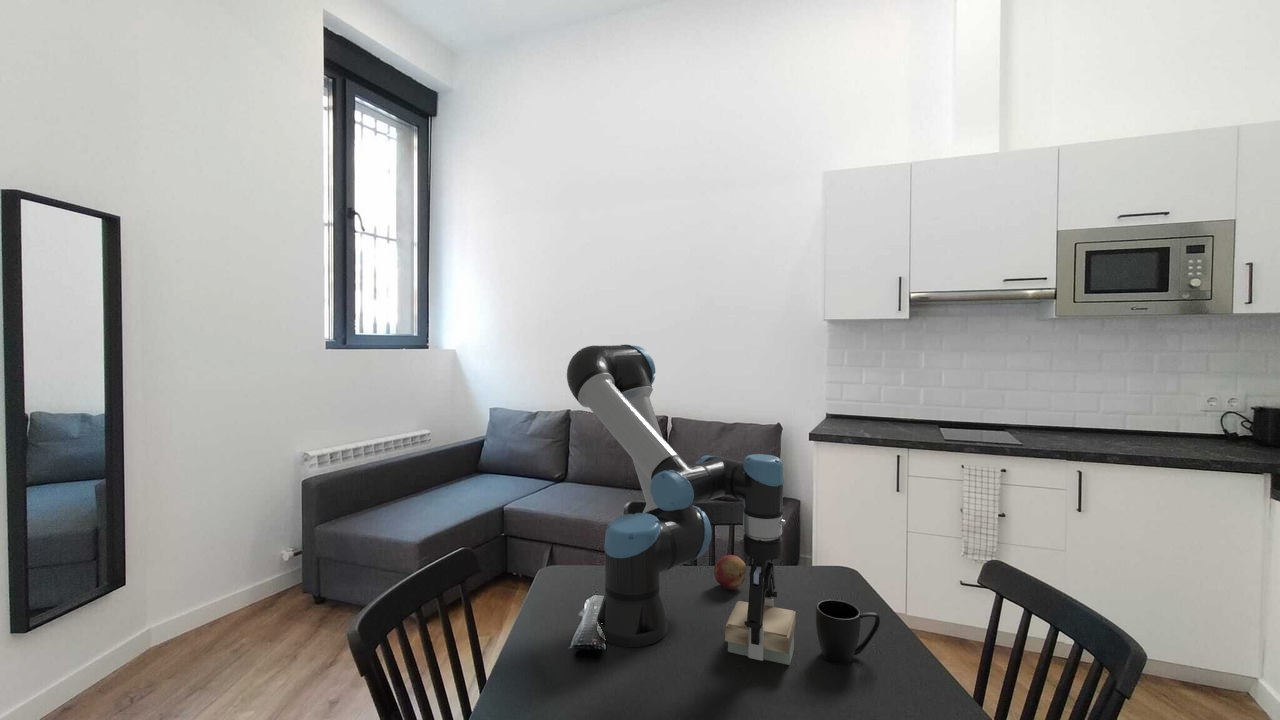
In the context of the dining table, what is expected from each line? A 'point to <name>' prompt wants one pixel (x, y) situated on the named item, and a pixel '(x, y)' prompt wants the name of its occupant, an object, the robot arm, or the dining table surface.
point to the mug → (841, 630)
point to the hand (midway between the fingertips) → (761, 642)
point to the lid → (775, 624)
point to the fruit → (730, 571)
